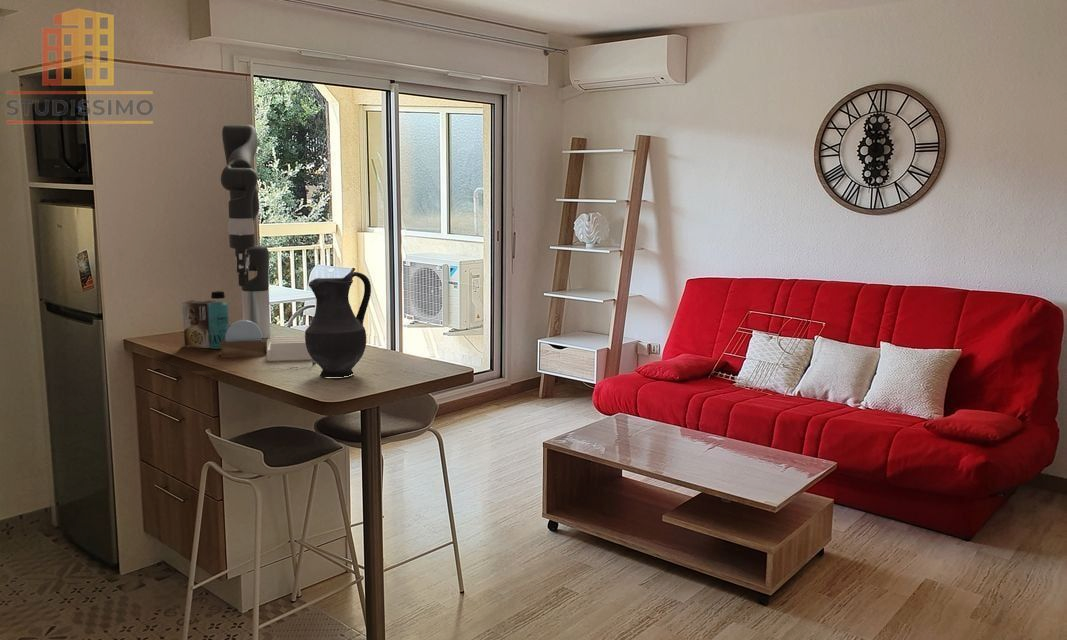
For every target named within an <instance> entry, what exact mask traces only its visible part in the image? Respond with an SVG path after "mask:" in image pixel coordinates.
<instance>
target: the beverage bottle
mask: <svg viewBox="0 0 1067 640" xmlns="http://www.w3.org/2000/svg"><path fill="white" fill-rule="evenodd" d="M225 297H226V295H225V292H224V291H222V290H221V291H219V290H217V291H211V298H210V299H214V300H213V301H214V302H211V303H210V304H209V305H208V309H209V340H210V343H209V346H210V348H209V349H217V350H218V349H219V350H221V342H222V340H226V339H225V336H226V332H227V330H228V328H229V327H230V317H229V304H228V303H227V302H226V301H225V300H223V301H222V300H219V299H224V298H225ZM215 299H217V300H215Z"/></svg>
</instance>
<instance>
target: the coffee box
mask: <svg viewBox="0 0 1067 640" xmlns="http://www.w3.org/2000/svg"><path fill="white" fill-rule="evenodd" d="M214 301H215V300H200V299H199V300H197V299H194V300H193V299H191V300H186V301H184V302H182V303H181V305H182V306H181V308H182V319H183V321H182V322H183V334H184V337H183V338H184V347H185V348H209V349H211V348H210V346H209V343H210V340H209V309H208V305H209V304H210V303H211V302H214Z"/></svg>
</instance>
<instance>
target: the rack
mask: <svg viewBox="0 0 1067 640" xmlns="http://www.w3.org/2000/svg"><path fill="white" fill-rule="evenodd" d="M266 359H267V360H266V362H274V361H275V362H277V361H305V360H307V361H308V360H312V364H317V363H316V362H315V361H314V360H313V359H312V358H311V356H310V355H309V353H308V351H307V348H306V343H305V335H288V336H287V335H284V336H282V335H281V336H272V338H271V341H270V342H269V344H268V345H267V355H266Z"/></svg>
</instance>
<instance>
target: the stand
mask: <svg viewBox="0 0 1067 640" xmlns="http://www.w3.org/2000/svg"><path fill="white" fill-rule="evenodd" d="M267 349H268V338H263V339H262V341H241V342H226V340H222V342H221V349H220V357H221V358H225V357H229V358H230V357H257V356H258V357H259V356H261V357H263V356H267Z"/></svg>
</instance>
